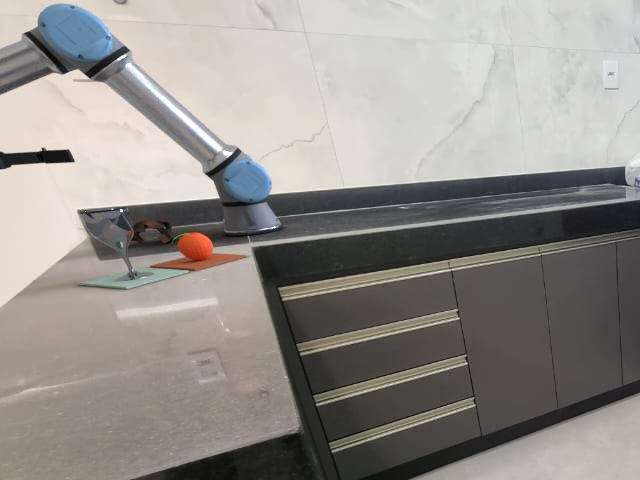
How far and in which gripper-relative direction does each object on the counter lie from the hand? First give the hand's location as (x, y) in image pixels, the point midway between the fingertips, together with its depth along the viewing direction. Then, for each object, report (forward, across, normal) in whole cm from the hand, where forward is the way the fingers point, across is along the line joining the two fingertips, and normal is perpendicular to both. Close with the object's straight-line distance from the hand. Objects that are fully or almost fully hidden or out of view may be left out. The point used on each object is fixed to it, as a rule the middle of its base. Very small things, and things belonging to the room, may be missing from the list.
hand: (37, 158), depth 112 cm
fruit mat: (+13, -14, -27) cm, 33 cm away
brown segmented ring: (-24, -40, -27) cm, 53 cm away
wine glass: (+10, 0, -26) cm, 28 cm away
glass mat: (+10, 0, -27) cm, 28 cm away
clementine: (+13, -14, -26) cm, 33 cm away
